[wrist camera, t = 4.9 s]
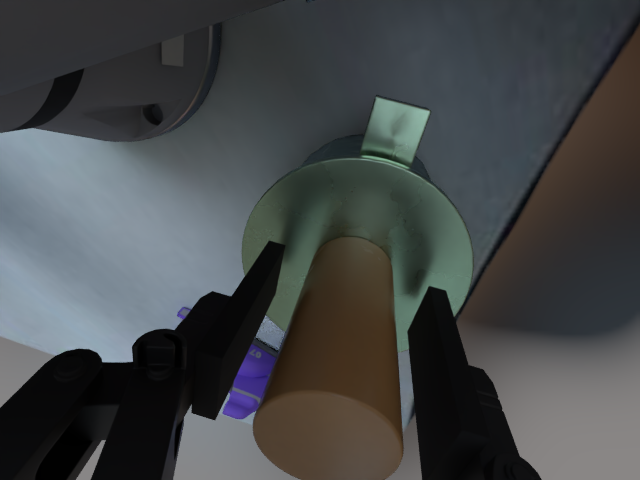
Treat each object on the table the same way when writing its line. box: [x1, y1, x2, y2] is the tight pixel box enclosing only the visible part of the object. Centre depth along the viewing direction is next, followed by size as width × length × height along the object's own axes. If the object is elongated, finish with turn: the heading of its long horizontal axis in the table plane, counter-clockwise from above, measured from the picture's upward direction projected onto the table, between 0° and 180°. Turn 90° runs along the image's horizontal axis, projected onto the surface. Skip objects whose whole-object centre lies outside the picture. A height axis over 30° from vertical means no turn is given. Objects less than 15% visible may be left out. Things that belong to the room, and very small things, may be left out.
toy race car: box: [177, 308, 278, 419], centre depth 30 cm, size 10×15×6 cm, turn 71°
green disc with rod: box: [242, 155, 474, 480], centre depth 13 cm, size 11×11×10 cm
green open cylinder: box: [301, 95, 431, 181], centre depth 20 cm, size 10×16×8 cm, turn 167°
